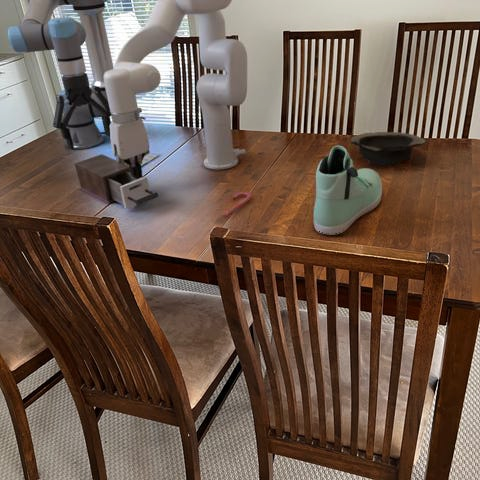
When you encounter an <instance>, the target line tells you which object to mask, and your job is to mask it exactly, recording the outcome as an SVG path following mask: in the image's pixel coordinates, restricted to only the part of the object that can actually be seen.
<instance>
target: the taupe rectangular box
mask: <svg viewBox="0 0 480 480" xmlns="http://www.w3.org/2000/svg"><path fill="white" fill-rule="evenodd" d="M74 167H75V172H76V174H77V175H76V176H77V179H78V182H79V186H80V189H81V190H82V191H83V192H85V193H87V194H89V195H91V196H92V197H95V198H97V199H99V200H100V201H102V202H104V203H106V204H108V205H110V204H113V203H115V202H116V201H115V200H113V199H112V198H110V195H109V191H108V187H107V183H106V179H107V178H109V177H112V176H114V175H117V174H120V173H122V172H125V171H128V172H130V167H129V166H128V165H126V164H119V163H117V162H116V159H114V158H112V157H109V156H106V155H105V154H98V155H95V156H92V157H89V158H87V159H83V160H80V161H78V162H75V163H74ZM130 173H131V172H130Z"/></svg>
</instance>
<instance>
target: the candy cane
mask: <svg viewBox="0 0 480 480" xmlns="http://www.w3.org/2000/svg"><path fill="white" fill-rule="evenodd" d="M240 197H245V198H243V199H242V200H240V201H238V203H236V204H235V205H234V206H232V207H231V208H229V209H228V210H226V211H225V212H224V213H223V216H224V217H225V218H226V217H229V216H230V215H232V214H233V213H235V212H236V211H237V210H239V209H240V208H241V207H243V206H245V205H246V204H248V203H249V202H250V201H252V198H253V195H252V194H251V193H250V192H247V191H238V192H235V193H234V194H233V195H232V200H236V199H238V198H240Z"/></svg>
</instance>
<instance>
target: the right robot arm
mask: <svg viewBox="0 0 480 480" xmlns="http://www.w3.org/2000/svg"><path fill="white" fill-rule="evenodd" d="M232 1H233V0H156V1H155V3H154V6H153V7H152V10H151V12H150V15H149V17H148V19H147V21H146V23H145V25H144V26H143V27H142V28H140V29H139V30H138V31H137V32H136V33H135V34H134V35H132V36H131V37H130V38H129V40H127V42H126V43H125V44H123V46H122V47H121V49H120V50H119V53H118V55H117V57H116V59H115V62H114V63H113V70H109V71H107V72H105V73H104V76H103V78H104V84H105V89H106V93H107V98H108V103H109V107H110V112H111V116H110V118H111V124H110V137H109V138H110V146H111V151H112V152H111V153H112V155H113V156H114V157H116V159H115V160H116V162H117V163H119V164H125V163H126V164H127V165H129V167H130V172H131V175H132V177H134V178H136V179H139V178H142V177H143V169H142V166H141V164H142V160H143V158H144V156H146V155H147V154H151V153H150V141H149V137H148V133H147V129H146V125H145V124H144V120H143V119H141V118H140V117H141V116H140V114H141V113H142V112H143V109H142V108H141V107H138V101H137V95H139V94H147V93H148V94H149V93H151V92H154V91H155V90H157V88H158V87H159V86H160V84H161V81H162V80H161V78H162V77H161V73H160V71H159V70H158V68H157V67H156V66H154V65H152V64H149V63H141V62H142V61H143V60H144V59H145V58H146V57H147V56H149V55H150V54H152V53H154V52H156V51H158V50H160V49H161V50H162V48H165V47H168V46H169V45H170V44H171V43H173V41H174V40H175V38H176V35H177V33H178V31H179V28H180V27H181V24H182V22H183V20H184V17H185V16H186V15H194V16H195V18H196V22H197V26H198V40H199V41H198V42H199V58H200V63H201V65H202V67H203V68H204V69H205V68H206V69H209V70H214V71H225V72H226V74H223V73H206V74H202V75H201V76H200V77H199V78H198V80H197V83H196V94H197V98H198V101H199V104H200V109H201V113H202V121H203V130H204V139H205V149H206V150H205V151H206V158H205V159H204V160H203V166H204V168H206V169H209V170H213V171H217V170H218V171H221V170H222V171H223V170H226V169H231V168H233V167H235V166H237V165H238V163H239V158H238V157H239V156H243V155H246V154H247V151H246V149H245V148H242V149H240V148H239V147H238V148H235V149H234V146H233V133H232V120H231V114H230V113H231V112H230V110H229V107H228V106H230V107H238V106H241V105H243V103H245V101H246V98H247V94H248V52H247V49H246V47H245V45H244V43H243V42H242V41H240V40H239V39H236V38H235V39H234V38H227V35H226V22H225V17H224V15H223V12H222V11H221V10H224V9H227V8H228V7H229V6H230V5H231V3H232ZM133 158H134V159H133Z"/></svg>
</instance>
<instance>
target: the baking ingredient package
mask: <svg viewBox="0 0 480 480" xmlns="http://www.w3.org/2000/svg"><path fill="white" fill-rule="evenodd" d="M158 156H159V154H151V153H149V154H147V155H146V156H144V158H143V160H142V164H141V167H142V166H143V165H145V164H147V163H148V162H150V161H153V160H154V159H156V158H157V157H158ZM133 159H134V158H133ZM125 164H126V163H125ZM126 165H127V164H126ZM128 166H129V165H128Z"/></svg>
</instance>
